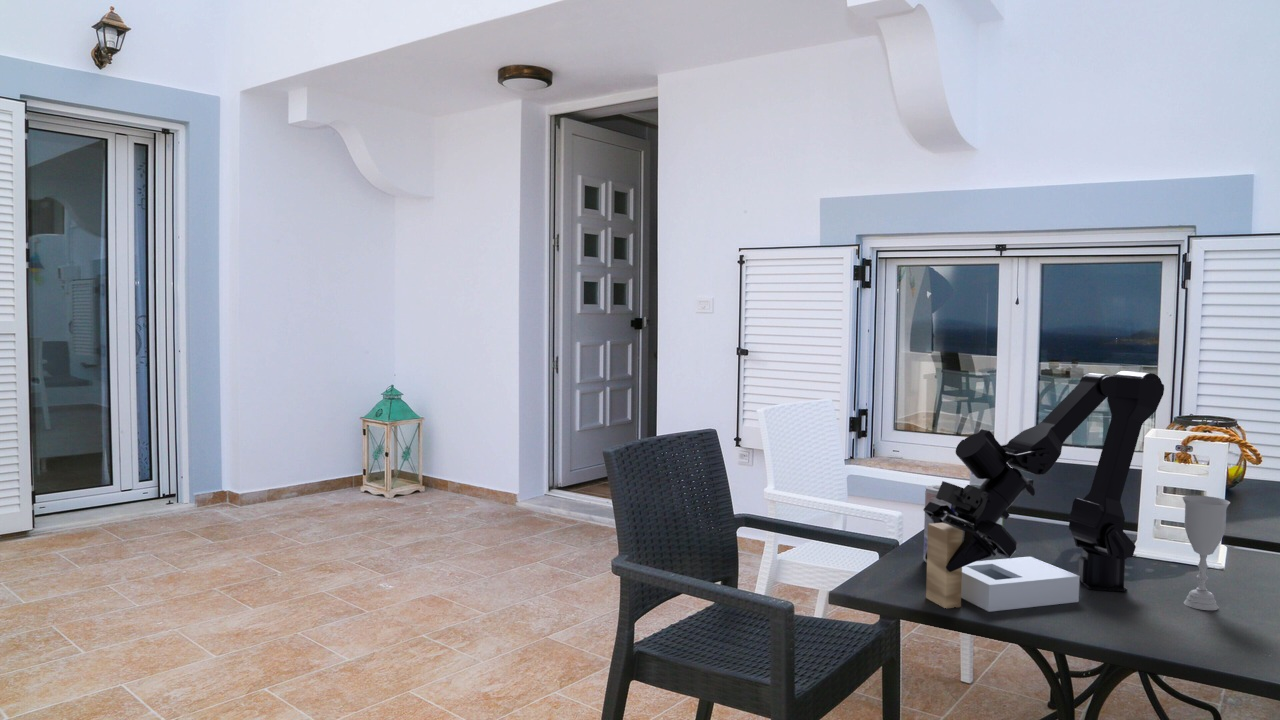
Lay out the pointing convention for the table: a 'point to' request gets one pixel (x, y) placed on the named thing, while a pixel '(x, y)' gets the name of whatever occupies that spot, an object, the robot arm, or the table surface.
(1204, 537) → the chalice
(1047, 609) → the table surface
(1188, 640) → the table surface
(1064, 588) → the box
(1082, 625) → the table surface
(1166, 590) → the table surface
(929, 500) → the beverage can
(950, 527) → the plate
